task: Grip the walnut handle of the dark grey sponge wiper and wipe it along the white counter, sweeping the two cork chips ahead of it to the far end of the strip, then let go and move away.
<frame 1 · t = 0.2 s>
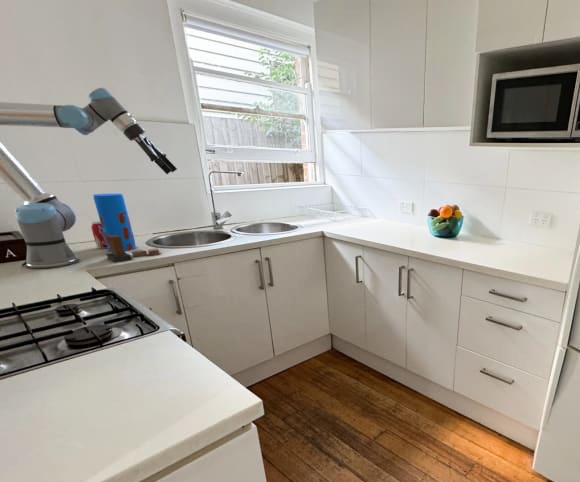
hand: (172, 171, 171), 35 cm above the worktop, tool tilted 35°, fingers open, 13 cm apart
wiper: (119, 259, 165), on the worktop
soda can: (106, 247, 183), on the worktop
cork chip B: (154, 254, 174), on the worktop
thermos: (122, 249, 181), on the worktop
cork chip A: (140, 255, 171), on the worktop
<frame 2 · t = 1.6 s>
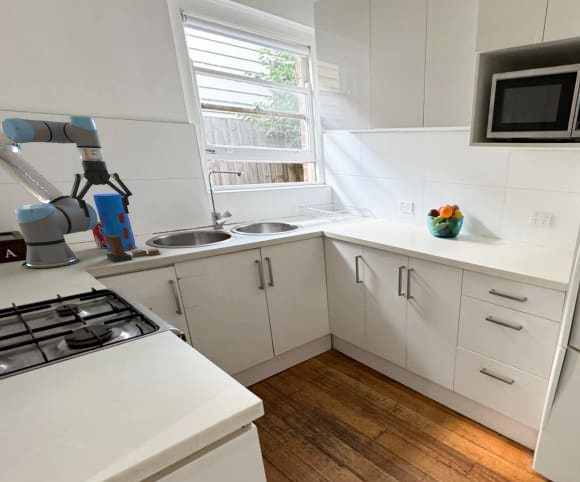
hand: (107, 215, 158), 19 cm above the worktop, tool pointing down, fingers open, 13 cm apart
nothing on the worktop moved.
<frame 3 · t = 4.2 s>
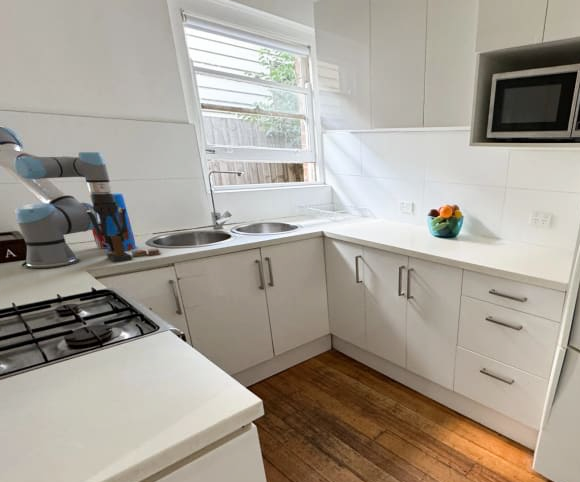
hand: (117, 249, 163), 4 cm above the worktop, tool pointing down, fingers closed on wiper, 3 cm apart
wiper: (119, 259, 165), on the worktop, touching gripper
everything else where it was.
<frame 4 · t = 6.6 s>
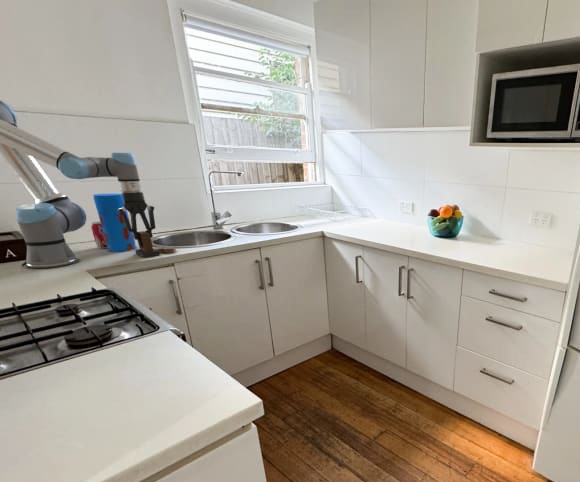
hand: (145, 245, 171), 4 cm above the worktop, tool pointing down, fingers closed on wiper, 3 cm apart
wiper: (147, 254, 172), on the worktop, touching gripper
cork chip B: (170, 252, 178), on the worktop
cork chip A: (159, 252, 177), on the worktop
everything else where it was.
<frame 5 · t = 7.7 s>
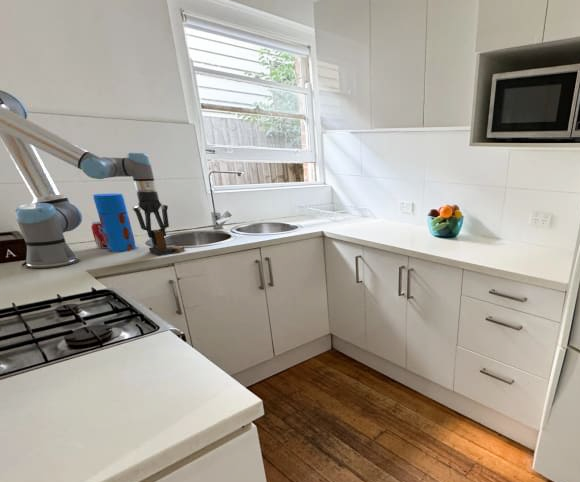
hand: (159, 244, 175), 4 cm above the worktop, tool pointing down, fingers closed on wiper, 3 cm apart
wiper: (161, 252, 176), on the worktop, touching cork chip A, gripper
cork chip B: (178, 251, 179), on the worktop
cork chip A: (171, 250, 181), on the worktop, touching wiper
everything else where it was.
when the fingers open (4 cm above the worktop, at t = 8.9 s): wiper stays where it is, on the worktop.
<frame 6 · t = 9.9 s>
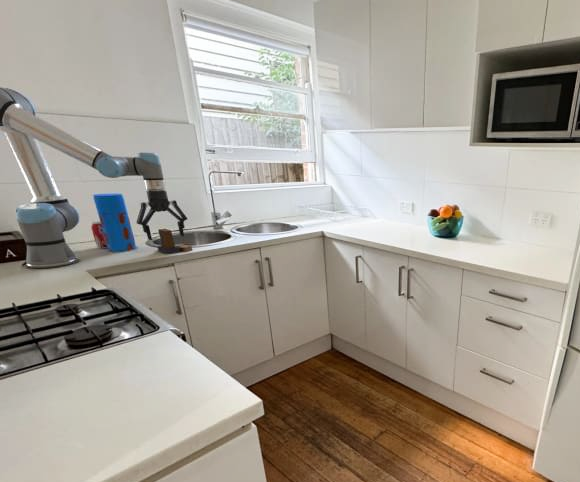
hand: (166, 237, 177), 6 cm above the worktop, tool pointing down, fingers open, 13 cm apart
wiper: (169, 251, 179), on the worktop
cork chip B: (185, 250, 181), on the worktop
cork chip A: (179, 249, 184), on the worktop
everything else where it was.
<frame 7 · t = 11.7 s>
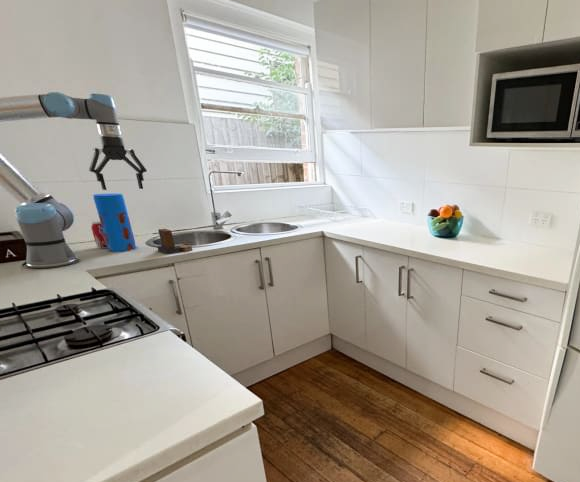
hand: (123, 189, 167), 28 cm above the worktop, tool pointing down, fingers open, 13 cm apart
nothing on the worktop moved.
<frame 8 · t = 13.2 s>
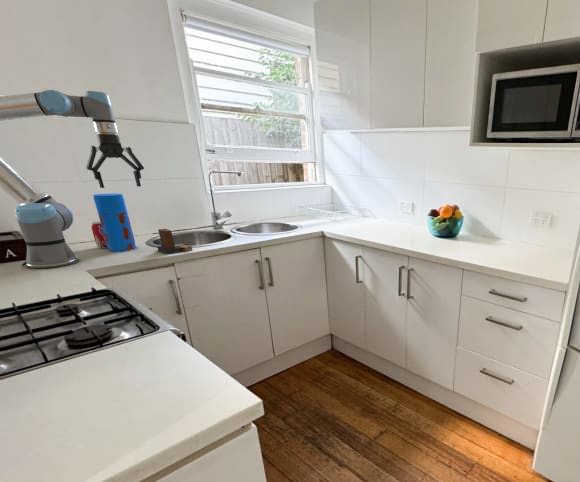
hand: (121, 187, 167), 29 cm above the worktop, tool pointing down, fingers open, 13 cm apart
nothing on the worktop moved.
at the end: cork chip A inside the target area (5.8 cm from its centre), on the worktop; cork chip B inside the target area (6.4 cm from its centre), on the worktop; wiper moved 19.8 cm from its start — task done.
